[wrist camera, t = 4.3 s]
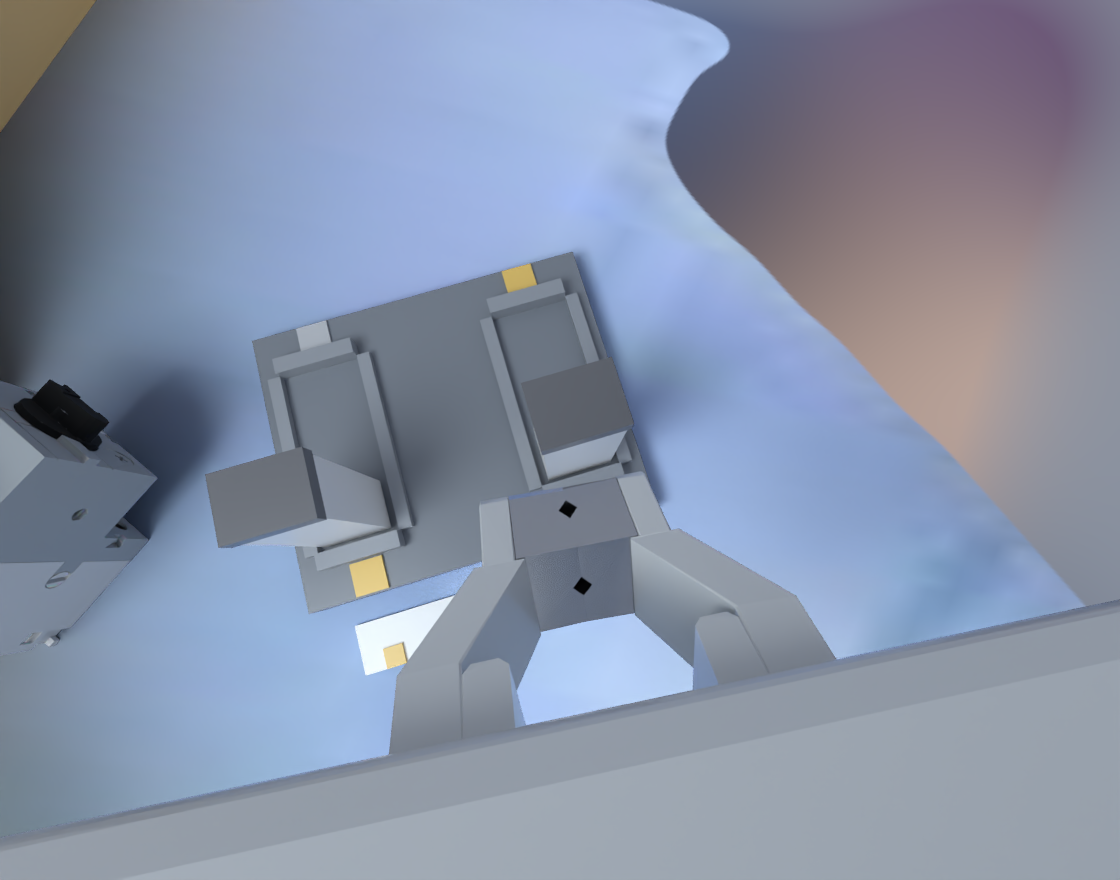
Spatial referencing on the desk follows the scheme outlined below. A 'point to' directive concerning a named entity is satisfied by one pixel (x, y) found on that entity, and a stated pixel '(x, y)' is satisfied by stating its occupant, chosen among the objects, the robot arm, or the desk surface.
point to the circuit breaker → (59, 512)
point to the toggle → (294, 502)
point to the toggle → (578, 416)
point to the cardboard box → (32, 44)
